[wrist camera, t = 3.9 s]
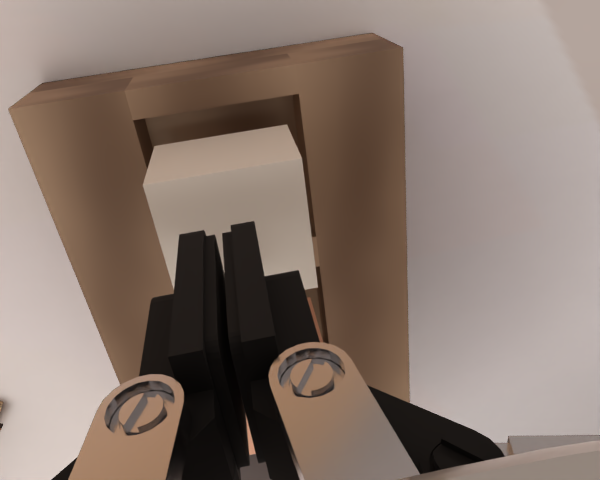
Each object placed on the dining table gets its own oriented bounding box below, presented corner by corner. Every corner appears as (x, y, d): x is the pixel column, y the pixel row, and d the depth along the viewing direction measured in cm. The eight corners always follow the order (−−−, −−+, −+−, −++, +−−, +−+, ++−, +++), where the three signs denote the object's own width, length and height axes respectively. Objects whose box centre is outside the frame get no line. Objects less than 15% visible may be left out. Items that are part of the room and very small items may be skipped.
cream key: (286, 124, 16) (301, 158, 13) (302, 238, 18) (318, 287, 15) (154, 146, 15) (142, 184, 13) (185, 259, 17) (180, 313, 15)
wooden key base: (372, 32, 19) (403, 47, 16) (389, 409, 29) (410, 462, 26) (42, 83, 18) (7, 108, 15) (176, 453, 28) (172, 513, 25)
